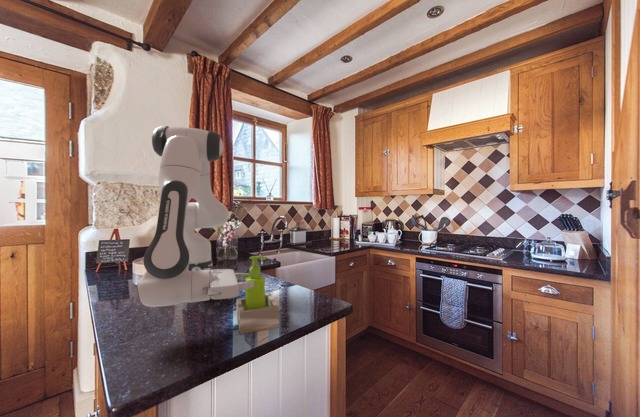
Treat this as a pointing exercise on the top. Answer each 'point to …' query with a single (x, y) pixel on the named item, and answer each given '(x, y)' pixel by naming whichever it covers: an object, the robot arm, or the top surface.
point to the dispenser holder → (257, 316)
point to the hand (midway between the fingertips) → (251, 279)
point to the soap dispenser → (255, 286)
